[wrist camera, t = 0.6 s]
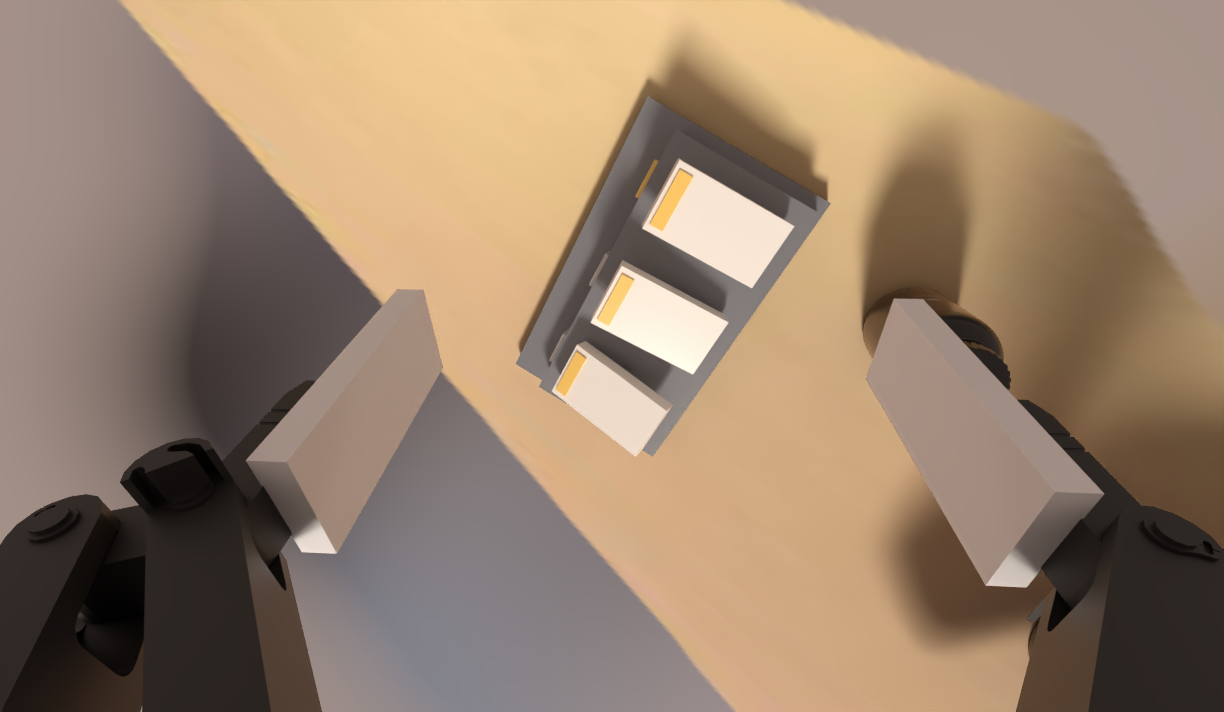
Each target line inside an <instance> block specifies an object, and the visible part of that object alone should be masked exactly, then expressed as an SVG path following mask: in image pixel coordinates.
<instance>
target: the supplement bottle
mask: <svg viewBox="0 0 1224 712" xmlns="http://www.w3.org/2000/svg"><path fill="white" fill-rule="evenodd" d="M894 299H923V300H924V301H925V302H926V303H927V304H928V305H929V306H930V307H931V308H932V309H933V310H934V312H935V313H936V314H937V315H938V316H939V317H940V318H941V319H942V320H943V321H944V322H945V323H946V324H947V325H948V327H949V328H950V329H951V330H952V331H953V332H954V333H955V334H956V335H957V336H958V337H959V338H960V339H961V341H962V342H963V343H964V344H965V345H966V346H967V347H968V348H969V349H970V350H971V351H972V352H973V353H974V354H975V356H976V357H977V358H978V359H979V360H980V361H981V362H982V363H983V364H984V365H985V366H986V367H987V368H988V369H989V371H990V372H991V373H992V374H993V375H994V376H995V377H996V378H997V379H998V380H999V381H1000V382H1001V383H1002V384H1003V386H1004V387H1005V388H1006V389H1007V390H1009V388H1010V382H1011V379H1010V372H1009V371H1008V366H1007V365H1006V364H1005V363H1004V361H1003V358H1004V357H1003V349H1002V345H1001V343H1000V341H999V338H998V337H997V335H996V334H995V333H994V331H993V330H992V329H991V328H990V327H989V326H988V325H986V324H985V323H984V322H982V321H981V320H980V319H978V318H976V317H975V316H973V315H972V314H970V313H969V312H967V311H966V310H964V309H963V308H961V307H960V306H958V305H957V304H955V303H954V302H952V301H950V300H949V299H947V298H946V297H944V296H942V295H941V294H939V293H937V292H934V291H931V290H928V289H922V288H908V289H903V290H899V291H896V292H893V293H891V294H889V295H887V296H885V297H884V298H882V299H881V300H880V301H879V302H877V303H876V304H875V305H874V306H873V308H872V309H871V310H870V312H869V313H868V315H867V317H866V320H865V323H864V327H863V338H864V342H865V345H866V348H867V349H868V351H869V353H870V355H871V356H872V358H873V357H874V354H875V351H876V348H877V345H878V342H879V340H880V337H881V334H882V331H883V328H884V325H885V322H886V320H887V317H888V314H889V311H890V308H891V305H892V303H893V300H894Z"/></svg>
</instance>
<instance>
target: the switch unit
mask: <svg viewBox="0 0 1224 712" xmlns="http://www.w3.org/2000/svg"><path fill="white" fill-rule="evenodd" d="M678 158H679V159H681V160H682V161H684V162H686V163H688V164H689V165H691V166H693V167H695V168H696V169H698V170H700V171H701V172H703V173H705V174H707V175H708V176H710V177H712V178H714V179H715V180H717V181H719V182H720V183H722V184H724V185H726V186H727V187H729V188H731V189H732V190H734V191H736V192H738V193H739V194H741V195H743V196H745V197H746V198H748V199H750V200H751V201H753V202H755V203H757V204H758V205H760V206H762V207H764V208H765V209H767V210H769V211H770V212H772V213H774V214H776V215H777V216H779V217H781V218H782V219H784V220H786V221H788V222H789V223H791V224H792V225H793V226H794V228H793V229H792V231H791V232H790V233H789V235H788V236H787V238H786V239H785V241H784V242H783V244H782V245H781V247H780V248H779V250H778V251H777V252H776V254H775V255H774V257H773V258H772V260H771V261H770V263H769V264H768V266H767V267H766V269H765V270H764V271H763V273H762V274H761V276H760V277H759V279H758V280H757V282H756V283H755V285H754V286H753V288H750V287H748V286H746V285H745V284H743V283H741V282H739V281H737V280H736V279H734V278H732V277H730V276H728V275H726V274H725V273H723V272H721V271H719V270H717V269H715V268H714V267H712V266H710V265H708V264H706V263H704V262H703V261H701V260H699V259H697V258H695V257H694V256H692V255H690V254H688V253H686V252H684V251H683V250H681V249H679V248H677V247H675V246H673V245H672V244H670V243H668V242H666V241H664V240H662V239H661V238H659V237H657V236H655V235H653V234H652V233H650V232H648V231H646V230H644V229H642V223H643V222H644V220H645V218H646V216H647V214H648V212H649V211H650V209H651V207H652V205H653V203H654V201H655V200H656V198H657V196H658V194H659V192H660V190H661V189H662V187H663V185H664V183H665V181H666V179H667V178H668V176H669V174H670V172H671V170H672V168H673V167H674V165H675V163H676V161H677V159H678ZM830 204H831V203H829V202H828V201H826V200H824V199H823V198H821V197H819V196H817V195H816V194H814V193H812V192H811V191H809V190H807V189H805V188H804V187H802V186H800V185H799V184H797V183H795V182H793V181H792V180H790V179H788V178H787V177H785V176H783V175H782V174H780V173H778V172H776V171H775V170H773V169H771V168H770V167H768V166H766V165H764V164H763V163H761V162H759V161H758V160H756V159H754V158H753V157H751V156H749V155H747V154H746V153H744V152H742V151H741V150H739V149H737V148H735V147H734V146H732V145H730V144H729V143H727V142H725V141H724V140H722V139H720V138H718V137H717V136H715V135H713V134H712V133H710V132H708V131H706V130H705V129H703V128H701V127H700V126H698V125H696V124H695V123H693V122H691V121H689V120H688V119H686V118H684V117H683V116H681V115H679V114H677V113H676V112H674V111H672V110H671V109H669V108H667V107H665V106H664V105H662V104H660V103H659V102H657V101H655V100H654V99H652V98H650V97H648V96H647V99H646V101H645V103H644V105H643V107H642V109H641V111H640V113H639V115H638V117H637V119H636V121H635V123H634V125H633V127H632V129H631V131H630V133H629V135H628V137H627V139H626V141H625V143H624V145H623V147H622V149H621V151H620V153H619V155H618V157H617V159H616V161H615V163H614V165H613V167H612V170H611V172H610V174H609V176H608V178H607V180H606V182H605V184H604V186H603V188H602V190H601V192H600V194H599V196H598V198H597V200H596V202H595V204H594V206H593V208H592V210H591V212H590V214H589V216H588V218H587V220H586V222H585V224H584V226H583V228H582V230H581V232H580V234H579V236H578V238H577V241H576V243H575V245H574V247H573V249H572V251H571V253H570V255H569V257H568V259H567V261H566V263H565V265H564V267H563V269H562V271H561V273H560V275H559V277H558V279H557V281H556V283H555V285H554V287H553V289H552V291H551V293H550V295H549V297H548V299H547V301H546V303H545V305H544V307H543V309H542V312H541V314H540V316H539V318H538V320H537V322H536V324H535V326H534V328H533V330H532V332H531V334H530V336H529V338H528V340H527V342H526V344H525V346H524V348H523V350H522V352H521V354H520V356H519V358H518V360H517V362H516V364H517V365H519V366H520V367H522V368H523V369H525V370H527V371H528V372H530V373H532V374H533V375H535V376H536V377H538V378H540V379H541V380H542V382H541V384H540V386H539V387H540V388H542V389H544V390H545V391H547V392H549V393H550V394H552V395H553V396H555V397H557V398H558V399H560V400H562V399H561V398H560V397H558V396H557V395H556V394H554V393H553V392H552V390H553V388H554V386H555V384H556V382H557V380H558V379H559V377H560V375H561V373H562V371H563V369H564V368H565V366H566V364H567V362H568V360H569V358H570V357H571V355H572V353H573V351H574V349H575V347H576V346H577V344H580V343H582V342H584V341H587V342H588V343H590V344H591V345H592V346H594V347H595V348H596V349H598V350H599V351H600V352H602V353H603V354H604V355H606V356H607V357H609V358H610V359H611V360H613V361H614V362H615V363H617V364H618V365H619V366H621V367H622V368H623V369H625V370H626V371H628V372H629V373H630V374H632V375H633V376H634V377H636V378H637V379H638V380H640V381H641V382H642V383H644V384H645V385H647V386H648V387H649V388H651V389H652V390H653V391H655V392H656V393H657V394H659V395H660V396H661V397H663V398H664V399H666V400H667V401H668V402H670V403H671V404H672V407H671V408H670V410H669V411H668V413H667V414H666V416H665V417H664V419H663V420H662V421H661V423H660V424H659V426H658V427H657V429H656V430H655V432H654V433H653V435H652V436H651V438H650V439H649V440H648V442H647V443H646V445H645V446H644V448H643V449H642V450H643V451H645V452H646V453H648V454H649V455H651V456H653V455H654V454H655V453H656V451H657V450H658V449H659V447H660V446H661V444H662V443H663V442H664V440H665V439H666V437H667V436H668V434H669V433H670V432H671V430H672V429H673V427H674V426H675V424H676V423H677V422H678V420H679V419H680V417H681V416H682V414H683V413H684V412H685V410H686V409H687V407H688V406H689V405H690V403H691V402H692V400H693V399H694V397H695V396H696V395H697V393H698V392H699V390H700V389H701V387H702V386H703V385H704V383H705V382H706V380H707V379H708V377H709V376H710V375H711V373H712V372H713V370H714V369H715V367H716V366H717V365H718V363H719V362H720V360H721V359H722V358H723V356H724V355H725V353H726V352H727V350H728V349H729V348H730V346H731V345H732V343H733V342H734V340H735V339H736V338H737V336H738V335H739V333H740V332H741V330H742V329H743V328H744V326H745V325H746V323H747V322H748V320H749V319H750V318H751V316H752V315H753V313H754V312H755V311H756V309H757V308H758V306H759V305H760V303H761V302H762V301H763V299H764V298H765V296H766V295H767V293H768V292H769V291H770V289H771V288H772V286H773V285H774V283H775V282H776V281H777V279H778V278H779V276H780V275H781V273H782V272H783V271H784V269H785V268H786V266H787V265H788V264H789V262H790V261H791V259H792V258H793V256H794V255H795V254H796V252H797V251H798V249H799V248H800V246H801V245H802V244H803V242H804V241H805V239H806V238H807V236H808V235H809V234H810V232H811V231H812V229H813V228H814V226H815V225H816V224H817V222H818V221H819V219H820V218H821V217H822V215H823V214H824V212H825V211H826V209H827V208H828V207H829V205H830ZM622 260H623V261H625V262H627V263H629V264H631V265H633V266H635V267H637V268H638V269H640V270H642V271H644V272H646V273H648V274H650V275H652V276H653V277H655V278H657V279H659V280H661V281H663V282H665V283H667V284H668V285H670V286H672V287H674V288H676V289H678V290H680V291H682V292H683V293H685V294H687V295H689V296H691V297H693V298H695V299H697V300H699V301H700V302H702V303H704V304H706V305H708V306H710V307H712V308H714V309H715V310H717V311H719V312H721V313H723V314H725V315H726V317H727V320H728V322H729V323H728V324H727V326H726V327H725V329H724V330H723V331H722V333H721V334H720V336H719V337H718V339H717V340H716V342H715V343H714V345H713V346H712V348H711V349H710V350H709V352H708V353H707V355H706V356H705V358H704V359H703V361H702V362H701V364H700V365H699V367H698V368H697V369H696V371H695V372H694V374H691V373H689V372H687V371H685V370H683V369H681V368H679V367H677V366H675V365H673V364H671V363H669V362H667V361H665V360H663V359H661V358H659V357H657V356H655V355H653V354H651V353H649V352H647V351H645V350H643V349H641V348H639V347H637V346H635V345H633V344H631V343H629V342H627V341H626V340H624V339H622V338H620V337H618V336H616V335H614V334H612V333H610V332H608V331H606V330H604V329H602V328H600V327H598V326H596V325H594V324H592V323H591V319H592V315H593V313H594V312H595V310H596V308H597V306H598V304H599V302H600V301H601V299H602V297H603V295H604V293H605V291H606V290H607V288H608V286H609V284H610V282H611V280H612V279H613V277H614V275H615V273H616V271H617V269H618V268H619V266H620V264H621V262H622ZM562 401H563V400H562ZM563 402H565V401H563ZM565 403H566V402H565ZM566 404H567V403H566Z"/></svg>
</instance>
